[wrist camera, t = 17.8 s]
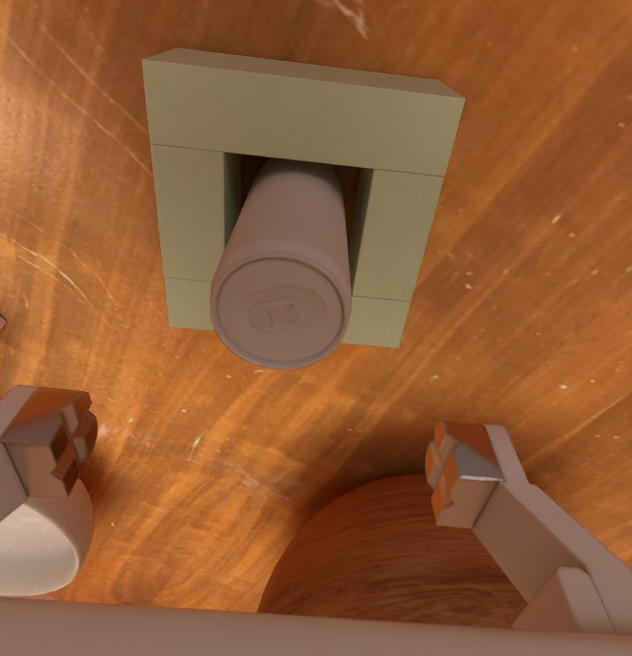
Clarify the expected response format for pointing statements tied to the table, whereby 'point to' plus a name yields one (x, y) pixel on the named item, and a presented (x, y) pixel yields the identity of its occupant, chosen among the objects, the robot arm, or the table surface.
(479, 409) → the table surface
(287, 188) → the beverage can
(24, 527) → the cereal bowl
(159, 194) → the holder
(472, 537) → the bowl
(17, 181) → the table surface
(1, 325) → the ink box
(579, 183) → the table surface
